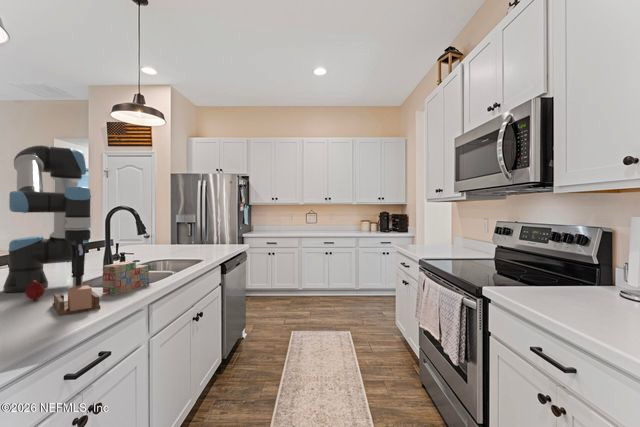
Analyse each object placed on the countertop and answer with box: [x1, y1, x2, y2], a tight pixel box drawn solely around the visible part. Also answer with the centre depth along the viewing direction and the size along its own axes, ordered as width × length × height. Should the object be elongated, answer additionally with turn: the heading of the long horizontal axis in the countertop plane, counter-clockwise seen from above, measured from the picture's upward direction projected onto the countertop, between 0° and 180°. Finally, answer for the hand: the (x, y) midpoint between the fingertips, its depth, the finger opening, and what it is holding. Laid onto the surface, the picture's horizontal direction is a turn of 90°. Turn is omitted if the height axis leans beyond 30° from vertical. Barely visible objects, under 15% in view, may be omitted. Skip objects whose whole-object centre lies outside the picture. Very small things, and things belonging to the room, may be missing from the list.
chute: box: [52, 290, 101, 317], centre depth 123 cm, size 16×12×4 cm
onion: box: [24, 280, 46, 301], centre depth 131 cm, size 6×6×8 cm
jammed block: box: [67, 285, 93, 311], centre depth 118 cm, size 6×6×7 cm
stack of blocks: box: [102, 261, 150, 295], centre depth 152 cm, size 21×6×12 cm, turn 170°
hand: (77, 294), depth 121 cm, fingers closed
